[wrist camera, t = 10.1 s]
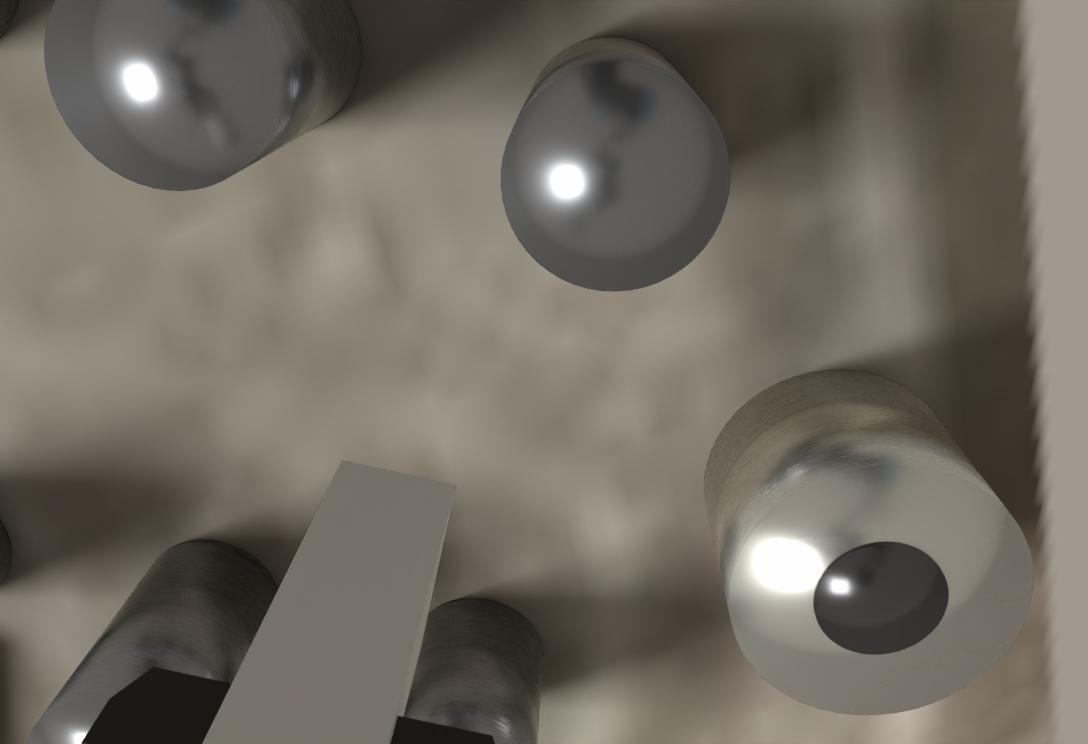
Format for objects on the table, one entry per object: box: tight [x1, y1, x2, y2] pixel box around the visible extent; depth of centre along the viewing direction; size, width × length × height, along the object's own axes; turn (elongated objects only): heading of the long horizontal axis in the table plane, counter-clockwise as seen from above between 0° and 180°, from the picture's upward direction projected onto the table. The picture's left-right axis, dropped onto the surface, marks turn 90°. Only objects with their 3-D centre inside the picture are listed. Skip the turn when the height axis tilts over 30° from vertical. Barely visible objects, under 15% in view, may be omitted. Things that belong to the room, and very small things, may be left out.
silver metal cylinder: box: [704, 370, 1034, 715], centre depth 18 cm, size 5×5×4 cm
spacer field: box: [0, 0, 730, 744], centre depth 17 cm, size 15×15×5 cm
